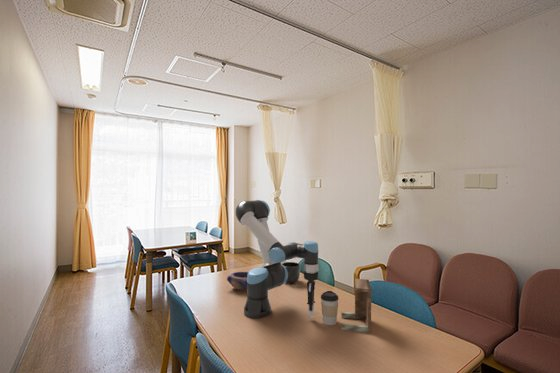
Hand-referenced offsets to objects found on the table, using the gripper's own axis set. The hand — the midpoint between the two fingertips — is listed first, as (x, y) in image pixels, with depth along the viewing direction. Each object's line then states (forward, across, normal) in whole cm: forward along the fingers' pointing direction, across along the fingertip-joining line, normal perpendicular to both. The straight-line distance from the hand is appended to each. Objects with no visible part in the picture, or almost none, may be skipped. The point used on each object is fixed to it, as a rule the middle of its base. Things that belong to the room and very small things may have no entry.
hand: (311, 315), depth 148 cm
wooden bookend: (+2, 0, -22) cm, 22 cm away
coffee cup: (+2, 0, -10) cm, 10 cm away
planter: (+2, +55, +21) cm, 59 cm away
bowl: (+2, +35, +51) cm, 62 cm away
